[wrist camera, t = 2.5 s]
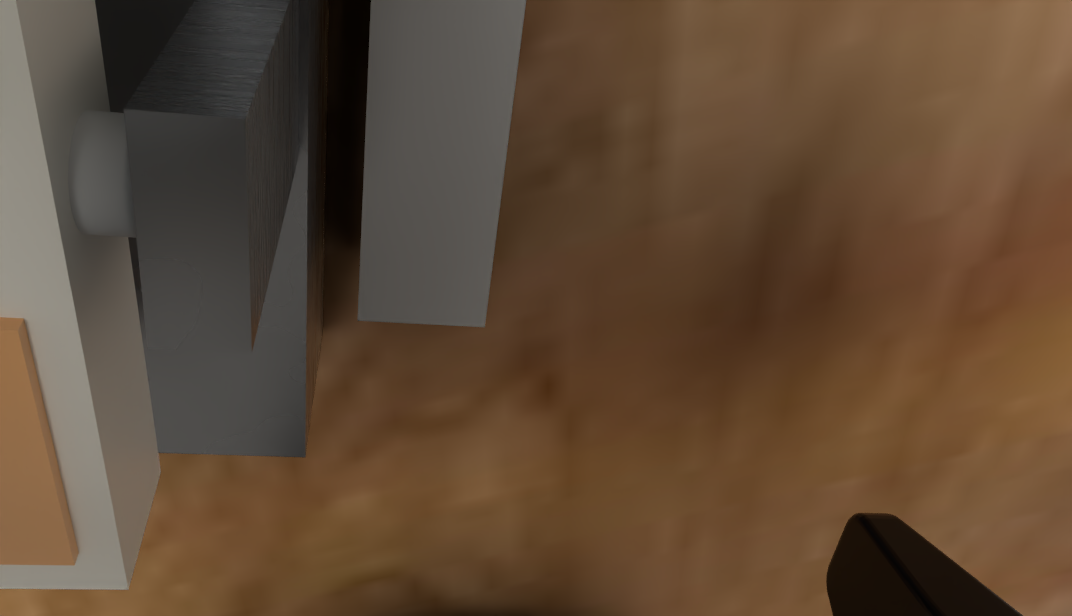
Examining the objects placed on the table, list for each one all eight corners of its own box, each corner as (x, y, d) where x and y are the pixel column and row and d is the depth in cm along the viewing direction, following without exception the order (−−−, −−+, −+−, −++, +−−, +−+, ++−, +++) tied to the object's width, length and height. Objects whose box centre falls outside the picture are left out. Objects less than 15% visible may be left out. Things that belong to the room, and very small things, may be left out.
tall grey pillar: (478, 263, 15) (484, 326, 14) (363, 256, 15) (357, 320, 14) (548, -334, 11) (569, -335, 10) (390, -361, 11) (387, -365, 9)
